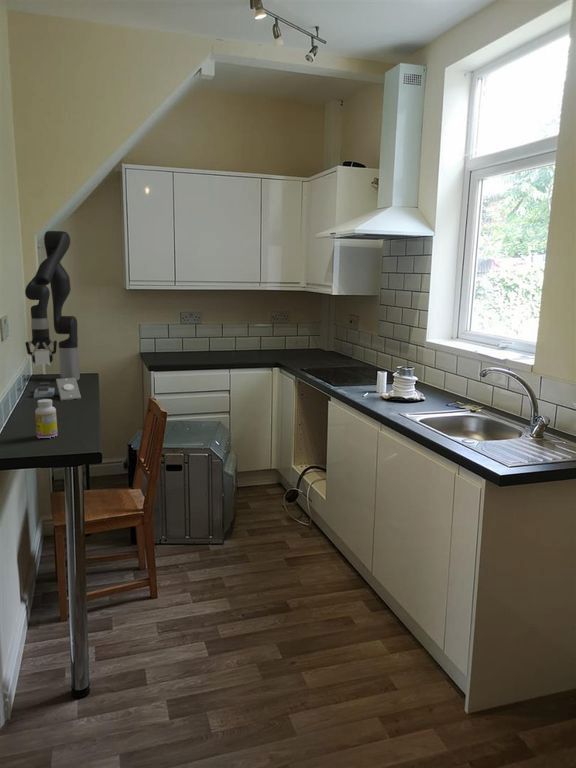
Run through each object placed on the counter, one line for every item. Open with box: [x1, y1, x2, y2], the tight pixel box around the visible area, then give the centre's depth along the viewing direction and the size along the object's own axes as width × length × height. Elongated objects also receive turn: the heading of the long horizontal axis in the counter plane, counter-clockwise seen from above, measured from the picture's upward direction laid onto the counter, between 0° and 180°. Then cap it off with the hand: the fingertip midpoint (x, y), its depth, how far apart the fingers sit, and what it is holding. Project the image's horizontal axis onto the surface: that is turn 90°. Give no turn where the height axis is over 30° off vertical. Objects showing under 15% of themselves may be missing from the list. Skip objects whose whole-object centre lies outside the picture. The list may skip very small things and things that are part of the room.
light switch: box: [55, 378, 82, 402], centre depth 268 cm, size 8×6×14 cm
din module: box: [34, 349, 51, 367], centre depth 282 cm, size 5×6×7 cm
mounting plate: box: [33, 387, 56, 399], centre depth 274 cm, size 14×8×2 cm, turn 18°
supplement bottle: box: [34, 398, 58, 439], centre depth 203 cm, size 7×7×13 cm
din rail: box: [37, 381, 51, 394], centre depth 274 cm, size 14×4×3 cm, turn 18°
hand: (42, 362), depth 283 cm, fingers closed on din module, 6 cm apart
